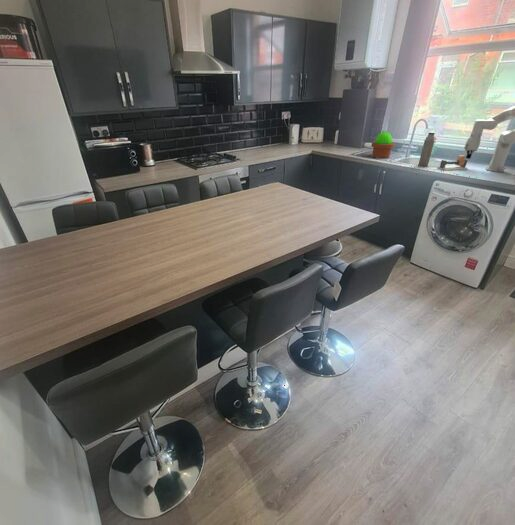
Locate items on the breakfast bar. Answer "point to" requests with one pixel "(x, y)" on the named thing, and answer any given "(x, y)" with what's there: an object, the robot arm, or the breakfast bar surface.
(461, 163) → the keeper
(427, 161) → the thermos bottle
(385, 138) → the potted cactus
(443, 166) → the rail
